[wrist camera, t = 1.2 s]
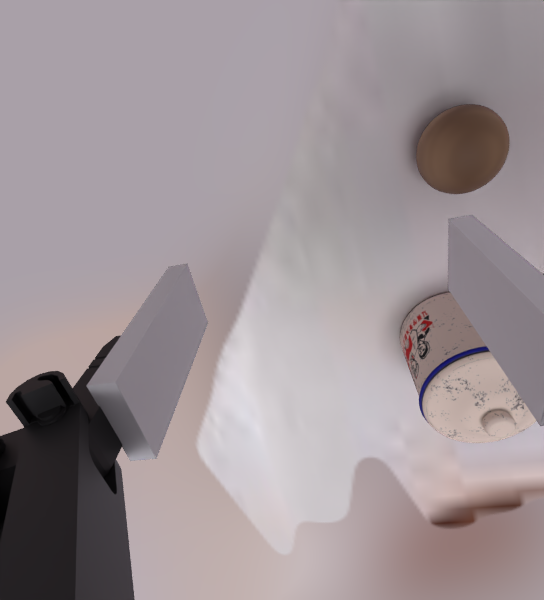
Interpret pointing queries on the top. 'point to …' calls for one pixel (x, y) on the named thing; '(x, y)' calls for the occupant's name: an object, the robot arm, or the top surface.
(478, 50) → the top surface
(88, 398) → the robot arm
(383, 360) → the top surface
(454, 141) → the walnut ball
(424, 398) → the teacup with lid
